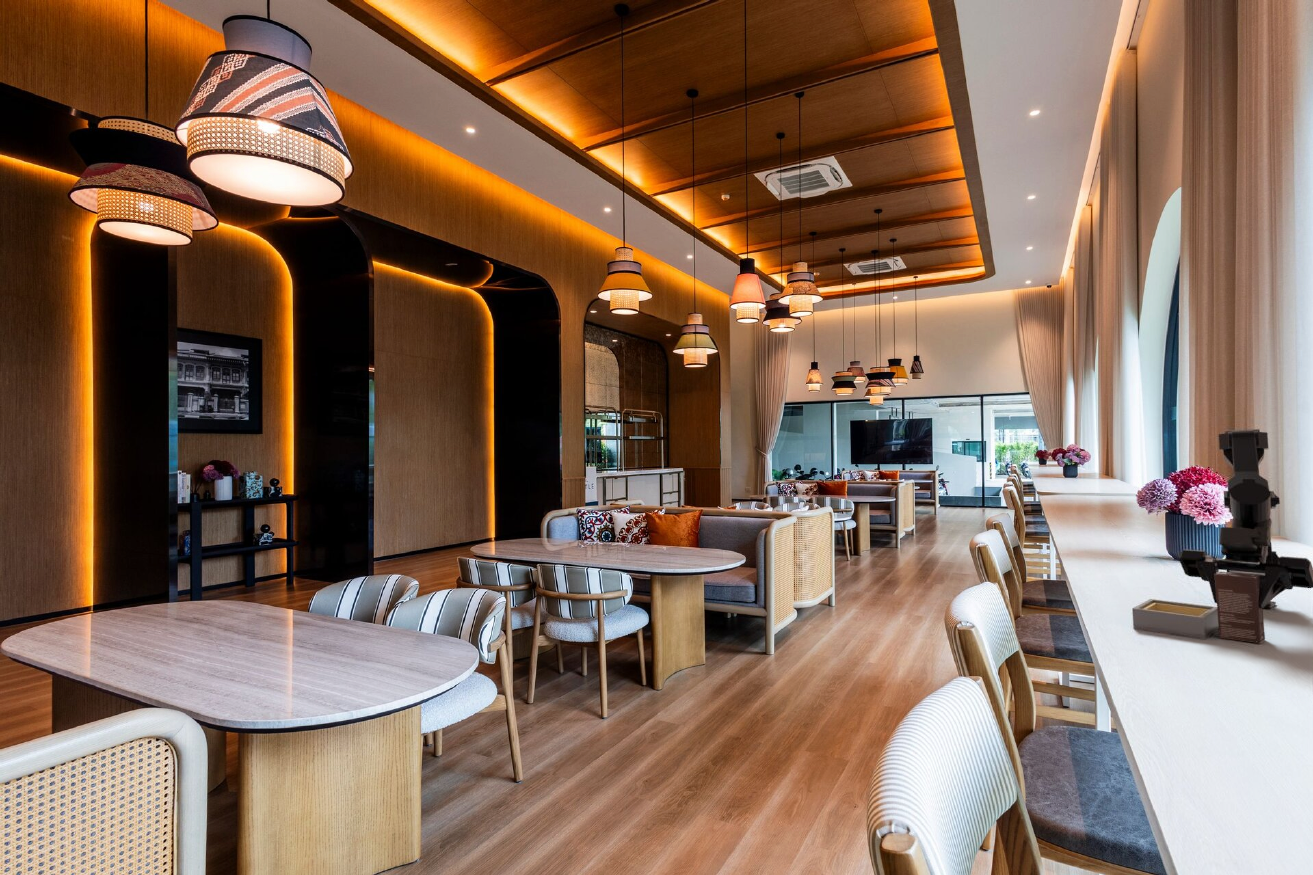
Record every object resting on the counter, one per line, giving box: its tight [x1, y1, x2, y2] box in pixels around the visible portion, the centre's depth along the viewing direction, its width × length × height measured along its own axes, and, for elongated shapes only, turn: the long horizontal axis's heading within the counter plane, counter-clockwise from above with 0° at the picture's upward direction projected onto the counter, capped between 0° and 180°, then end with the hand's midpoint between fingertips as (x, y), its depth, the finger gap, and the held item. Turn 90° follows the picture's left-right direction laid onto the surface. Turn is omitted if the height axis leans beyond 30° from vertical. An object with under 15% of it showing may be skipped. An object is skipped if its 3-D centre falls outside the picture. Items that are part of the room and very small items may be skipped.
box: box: [1214, 571, 1266, 645], centre depth 123 cm, size 6×4×12 cm
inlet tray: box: [1132, 598, 1219, 640], centre depth 131 cm, size 11×11×4 cm
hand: (1237, 604), depth 122 cm, fingers closed on box, 6 cm apart
